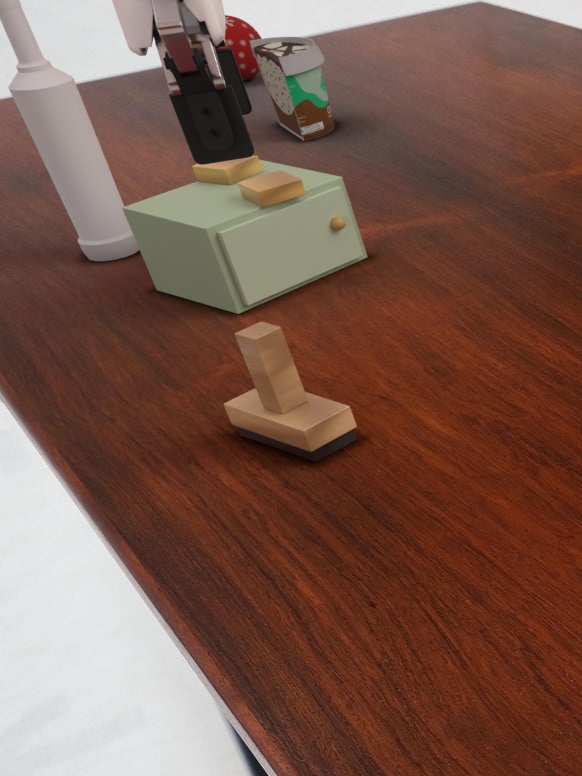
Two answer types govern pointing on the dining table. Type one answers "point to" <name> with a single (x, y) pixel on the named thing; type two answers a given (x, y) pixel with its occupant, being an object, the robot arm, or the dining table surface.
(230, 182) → the cork chip
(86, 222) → the bottle
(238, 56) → the christmas ornament
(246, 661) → the dining table surface
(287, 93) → the food container
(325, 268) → the cabinet
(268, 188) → the cork chip
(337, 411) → the brush
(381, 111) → the dining table surface
